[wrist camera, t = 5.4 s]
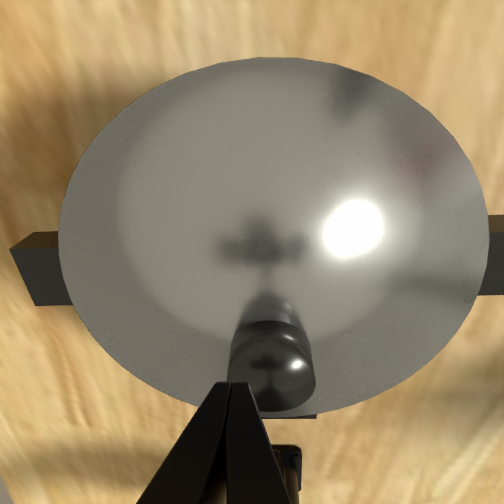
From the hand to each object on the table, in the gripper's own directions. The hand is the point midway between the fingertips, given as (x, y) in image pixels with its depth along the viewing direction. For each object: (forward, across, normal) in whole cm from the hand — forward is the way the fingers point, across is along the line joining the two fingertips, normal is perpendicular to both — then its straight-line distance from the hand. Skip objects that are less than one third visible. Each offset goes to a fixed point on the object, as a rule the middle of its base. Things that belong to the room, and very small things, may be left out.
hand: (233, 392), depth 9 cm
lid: (+6, -1, +1) cm, 6 cm away
